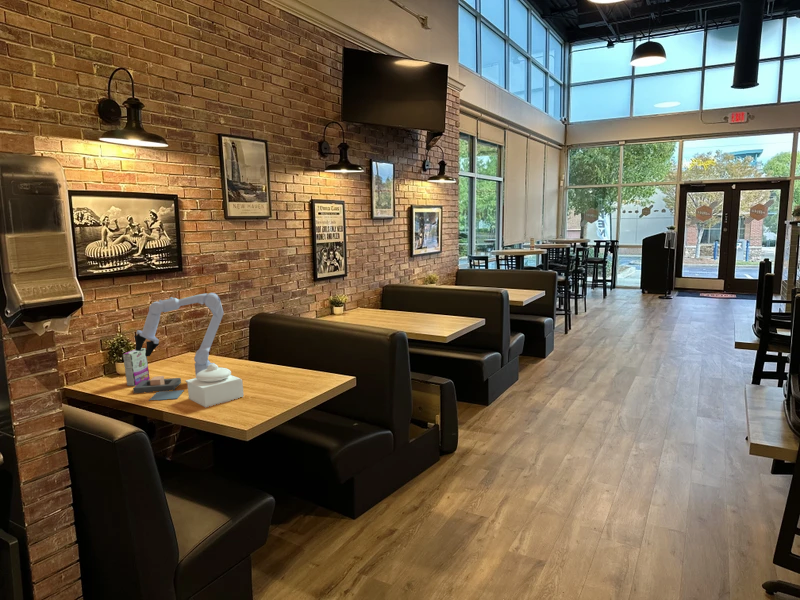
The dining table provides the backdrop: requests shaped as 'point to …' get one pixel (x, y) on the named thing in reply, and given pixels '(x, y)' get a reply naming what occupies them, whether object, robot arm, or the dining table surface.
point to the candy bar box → (136, 367)
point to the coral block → (157, 380)
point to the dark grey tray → (157, 386)
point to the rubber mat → (166, 395)
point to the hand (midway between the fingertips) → (142, 353)
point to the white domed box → (214, 386)
